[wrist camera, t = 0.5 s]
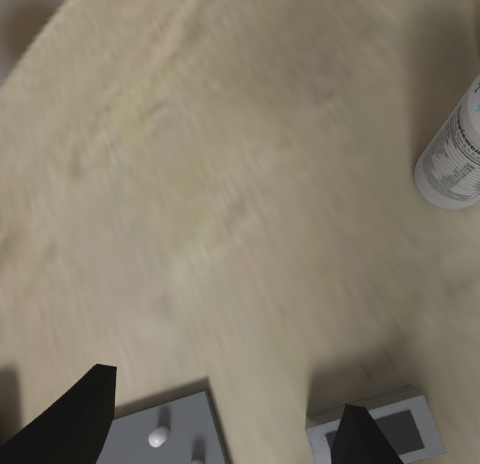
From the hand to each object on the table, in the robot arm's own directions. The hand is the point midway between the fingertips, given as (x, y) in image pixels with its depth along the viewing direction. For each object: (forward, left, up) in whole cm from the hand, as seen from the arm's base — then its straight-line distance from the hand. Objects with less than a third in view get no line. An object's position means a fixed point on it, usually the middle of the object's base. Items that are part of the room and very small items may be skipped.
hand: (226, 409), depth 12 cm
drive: (-8, -4, -24) cm, 25 cm away
